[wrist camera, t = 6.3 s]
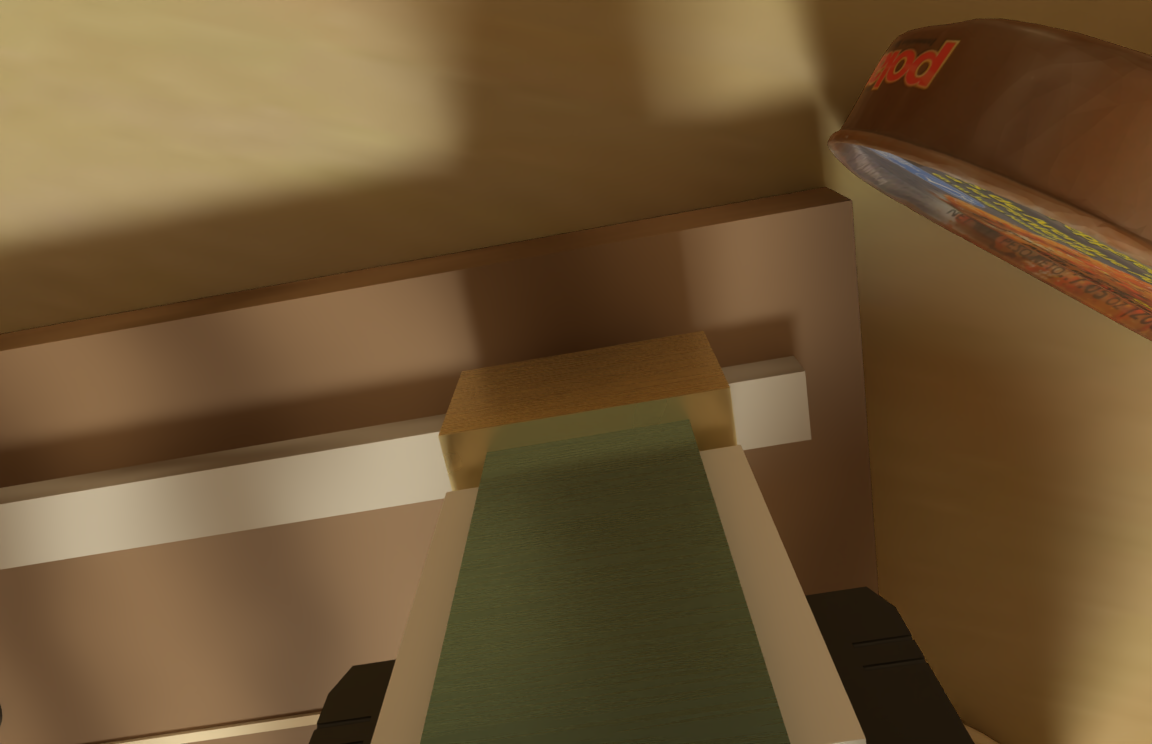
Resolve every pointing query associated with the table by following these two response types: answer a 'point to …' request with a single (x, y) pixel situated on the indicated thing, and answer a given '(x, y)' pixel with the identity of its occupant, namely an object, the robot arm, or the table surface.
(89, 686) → the gauge board
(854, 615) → the robot arm
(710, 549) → the slider
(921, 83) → the tin
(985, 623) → the table surface
